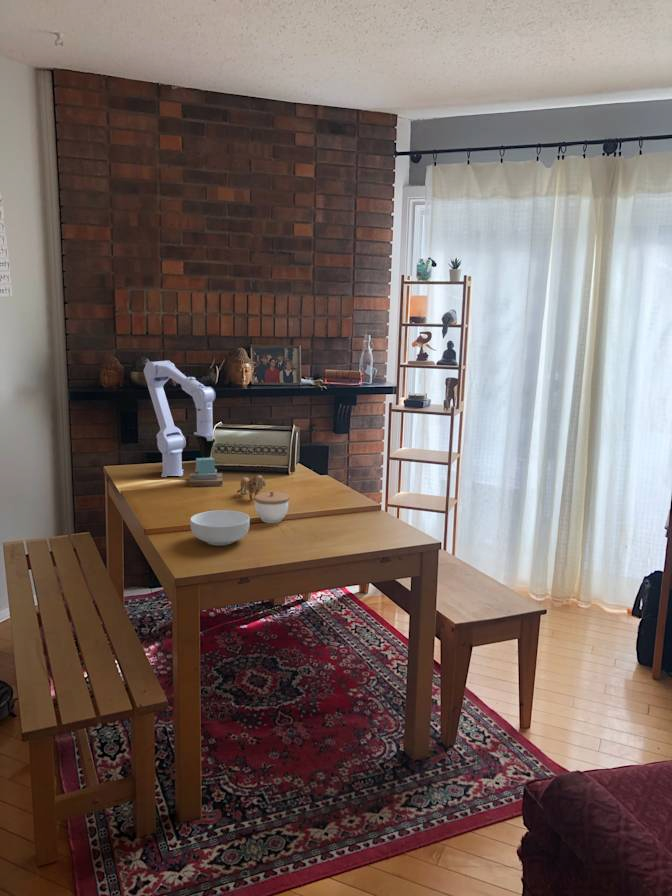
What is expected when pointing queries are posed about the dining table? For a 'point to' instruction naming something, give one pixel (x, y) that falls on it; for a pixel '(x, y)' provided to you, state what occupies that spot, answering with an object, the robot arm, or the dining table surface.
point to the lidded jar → (271, 506)
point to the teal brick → (205, 465)
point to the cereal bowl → (220, 526)
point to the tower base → (205, 479)
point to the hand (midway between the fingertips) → (205, 456)
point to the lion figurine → (252, 486)
